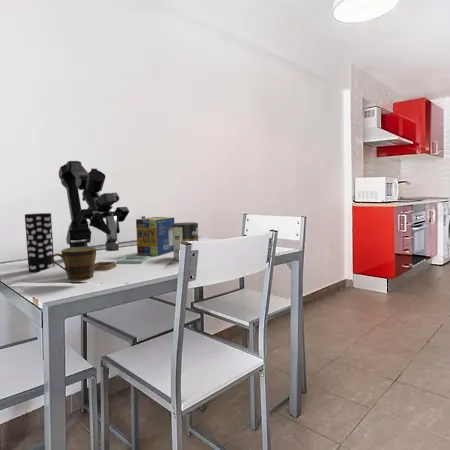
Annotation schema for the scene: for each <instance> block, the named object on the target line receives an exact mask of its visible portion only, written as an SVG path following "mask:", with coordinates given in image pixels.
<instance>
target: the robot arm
mask: <svg viewBox="0 0 450 450" xmlns="http://www.w3.org/2000/svg"><path fill="white" fill-rule="evenodd" d="M58 178H59V179H60V183H61V185H62V186H63V188H65V189H66V194H67V202H68V208H69V214H70V224H69V226H68V230H67V232H66V233H67V234H66V238H65V240H66V244H67V245H69V248H72V247H90V246H89V245H88V244H90V243H91V240H92V239H91V238H92V231H91V228H90V227H93V228H95V229H97V230H99V231H101V232H102V233H104V234H108V235H109V234H110V231H109V229H108V227H107V225H106V221H105V220H104V219H106V216H117V234H120V232H121V231H120V223H121V222H124V221H125V220H126V218H127V217H128V215H129V213H130V210H129V208H128V207H127V206H118V207H116V208H115V210H112V209H113V205H114V204H116V203H117V202H120V201H119V200H120V196H119V194H118V193H117V192H104V193H102V194H101V193H100V192H101V191H102V190H103V187H104V183H105V181H106V174H105V173H104V172H102V171H100V170H98V168H91V169H90V171H87V170H86V168H85V167H84V166H83V164H82V162H81V161H79V160H69V161H67V163H65V164H64V165H61V166H60V168H59V170H58ZM79 191H82V193H81V195H82V201H83V202H85V203H86V204H87V206H88V207H87V208H82V205H81V199H80V194H79ZM88 220H89V222H88ZM89 226H90V227H89Z"/></svg>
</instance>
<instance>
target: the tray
mask: <svg viewBox="0 0 450 450" xmlns="http://www.w3.org/2000/svg"><path fill="white" fill-rule="evenodd" d="M149 260H150V256H149V255H129V256H127V255H125V256H124V257H122V258H119V259H117V260H116V264H143V263H145V262H147V261H149Z"/></svg>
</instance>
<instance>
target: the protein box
mask: <svg viewBox="0 0 450 450" xmlns="http://www.w3.org/2000/svg"><path fill="white" fill-rule="evenodd" d="M174 223H175V217H173V216H172V217H171V216H168V217H167V216H152V217H147V218H145V217H144V218H138V219H135V227H136V228H135V229H136V250H137V251H136V252H137V253H136V254H137V255H136V256H152V257H155V256H156V257H158V256H162V255H166V254H168V253H172V252H173V253H174V247H173V226H172V224H174Z"/></svg>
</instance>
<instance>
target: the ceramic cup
mask: <svg viewBox="0 0 450 450" xmlns="http://www.w3.org/2000/svg"><path fill="white" fill-rule="evenodd" d="M57 256H58V257H60V258H61V259H62V260H63V263H64V264H63V265H64V267H63V266H62V264H60V263H57V262H56V261H55V257H57ZM96 257H97V247H96V246H89V247H72V248H70V247H66V248H63V249H61V253H54V255H53V256H52V261H53V263H54V265H57V266H58V267H60V268H61V269H63V270H64V271H65V273H66V275H67V279H68V280H69V281H70V282H68V283H69V284H73V285H74V284H78V285H79V284H80V285H81V284H86V283H87V281H86V280H90V279H92V278H94V273H95V270H94V266H95V263H96ZM53 258H54V260H53Z"/></svg>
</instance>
